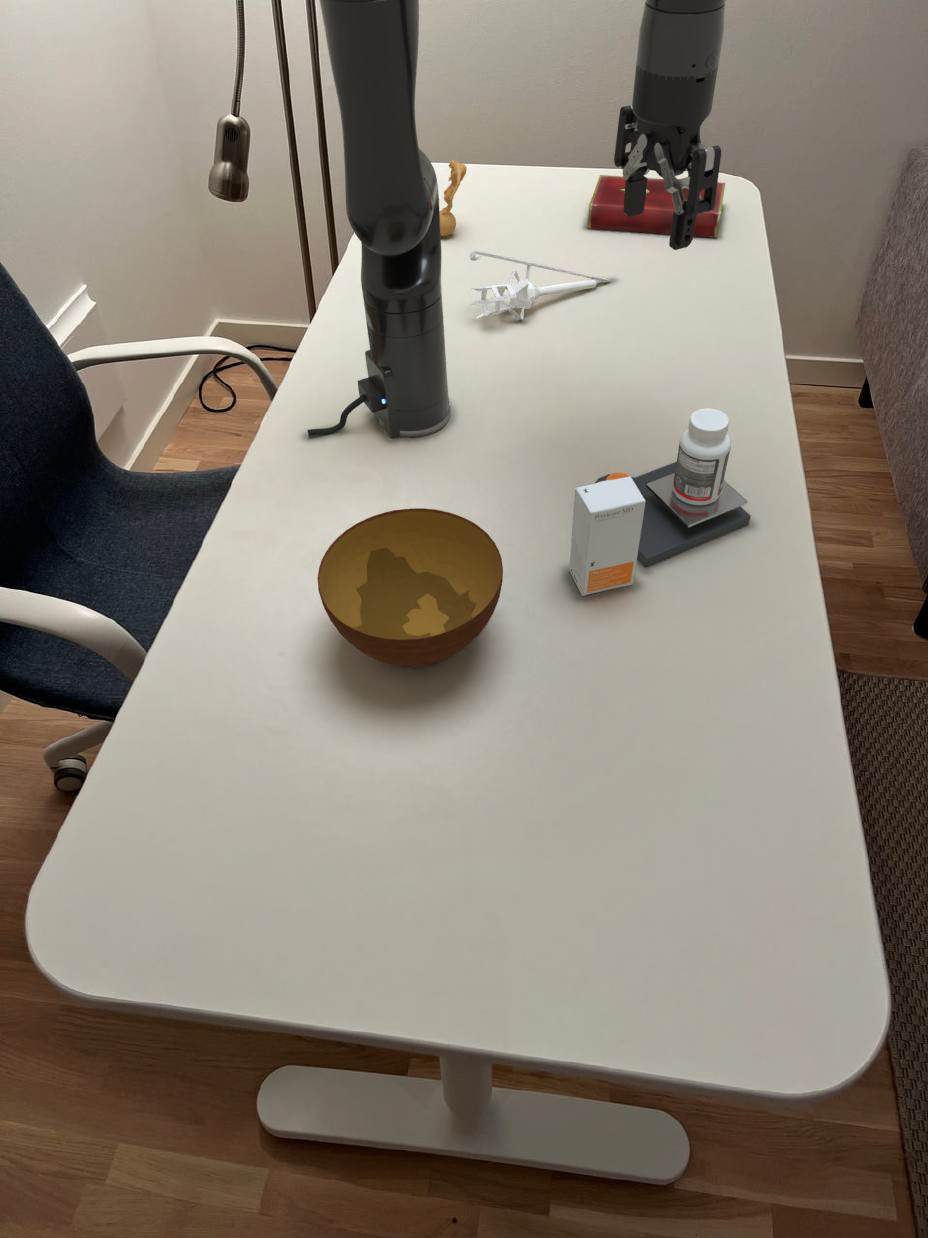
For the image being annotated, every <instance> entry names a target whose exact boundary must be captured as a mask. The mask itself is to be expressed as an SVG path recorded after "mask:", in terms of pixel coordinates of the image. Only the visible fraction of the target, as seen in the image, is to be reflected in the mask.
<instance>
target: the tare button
mask: <svg viewBox="0 0 928 1238" xmlns="http://www.w3.org/2000/svg"><path fill="white" fill-rule="evenodd" d="M609 474H610V475H609V476H608V477H607V479H606V480H615V479H620V478H625V477H629V476H630V475H629V474H627V473H625V472H612V473H609Z"/></svg>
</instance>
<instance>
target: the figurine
mask: <svg viewBox="0 0 928 1238" xmlns="http://www.w3.org/2000/svg"><path fill="white" fill-rule="evenodd" d="M448 167H449V168H450V176H449V177H448V180H447V181H448V182H451V183H450V184H449V185H448V186H447V188H446V189H445V190H444V191H443V200H444V202H445V203H446V204H447V206H445V207H443V208H442V209H440V210H439V211H440V232H441V237H449V236H450V235H452V234H453V233H454V231H456V228H457V219H456V217H455V215H454V214H453V213H452V212H451V210H453V209H452V208H453V200H454V197H455V194H456V193H457V191H458V189H459V187H460V185H461V183H462V181H463V179H464V178H465V176H466V174H467V170H468V169H467V166H466V165H465V164H464V163H462V162H458V161H456V160H453V159H451V160H449V164H448Z"/></svg>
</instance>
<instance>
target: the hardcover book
mask: <svg viewBox="0 0 928 1238" xmlns="http://www.w3.org/2000/svg"><path fill="white" fill-rule="evenodd" d="M647 178H648V180H647V189H646V198H645V206H644V211H643V212H642V213H641V214H639V215H635V216H631V217H628V216H627V215H625V214H624V212H623V211H624V193H625V183H626V179H624V177H623V175H608V174H607V175H604V174H600V175H599V176H598V180H597V182H596V186H595V188H594V191H593V193H592V196H591V200H590V202H589V204H588V216H587V217H588V218H587V229H590V230H604V231H616V232H629V233H644V234H645V233H646V234H658V235H670V234H671V227H672V219H673V213H674V212H676V211H675V207H674V203H673V199H672V195H671V193H670V192H668V191H667V190H666V188H665V184H664V180H663V178H657V177H656V178H655V177H647ZM725 190H726V182H722V181H721V182H718V183H717V190H716V198H715V205H714V209H713V210H711V211H708V212H703V213H700V214H697V215H696V221H695V227H694V233H693V237H699V238H713V239H718V235H719V234H718V233H719V230H720V229H719V228H720V223H721V215H722V209H723V203H724V198H725V197H724V195H725ZM704 191H705V189H703V190H701V192H700V194H701V198H704ZM682 192H683V196H684V200H687V199H688V190H687V188H683V189H682Z"/></svg>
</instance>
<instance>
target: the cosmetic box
mask: <svg viewBox="0 0 928 1238" xmlns="http://www.w3.org/2000/svg"><path fill="white" fill-rule="evenodd" d="M630 476H631V475H629V477H625V478H620V479H615V480H606V481H601V482H598V483H595V482H594V483H595V484H594V483H591V484H587V485H582V486H577V487H575V488H574V500H573V501H574V502H573V512H572V513H573V514H572V526H571V538H570V539H571V541H570V555H569V568H568V571H569V573H570V575H571V577H572V579H573V581H574V583H575V585H576V586H577V589H578V591H579V593H580V595H581V596H582V597H584V596H589V595H592V594H597V593H601V592H605V591H610V590H613V589H614V590H615V589H618V588H623V587H629V586H632V585H634V580H635V573H636V567H637V561H638V559H637V555H638V548H639V541H640V535H641V529H642V522H643V515H644V509H645V502H646V501H645V499H644V498H643V496H642V494H641V493H640V491H639V489H638V488H637V486H636V484H635V483H634V481H633V479H632V478H631V477H632V476H631V477H630Z"/></svg>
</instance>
